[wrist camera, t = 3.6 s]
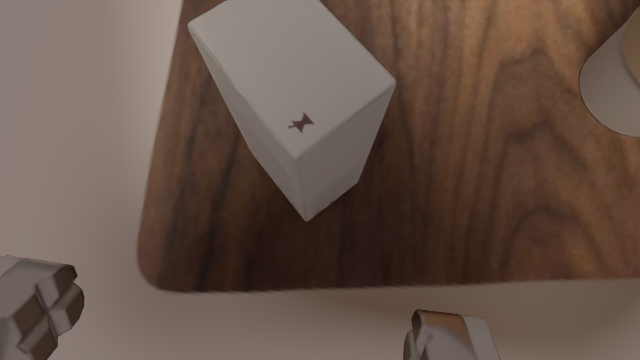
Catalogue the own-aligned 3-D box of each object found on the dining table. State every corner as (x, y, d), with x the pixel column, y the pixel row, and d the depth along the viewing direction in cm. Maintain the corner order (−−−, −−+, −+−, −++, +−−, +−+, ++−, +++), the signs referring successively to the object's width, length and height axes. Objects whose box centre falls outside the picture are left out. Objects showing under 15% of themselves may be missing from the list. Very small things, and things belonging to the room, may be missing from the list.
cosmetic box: (360, 181, 23) (405, 84, 11) (306, 224, 22) (293, 167, 11) (300, 111, 24) (285, -44, 12) (247, 149, 23) (178, 23, 12)
